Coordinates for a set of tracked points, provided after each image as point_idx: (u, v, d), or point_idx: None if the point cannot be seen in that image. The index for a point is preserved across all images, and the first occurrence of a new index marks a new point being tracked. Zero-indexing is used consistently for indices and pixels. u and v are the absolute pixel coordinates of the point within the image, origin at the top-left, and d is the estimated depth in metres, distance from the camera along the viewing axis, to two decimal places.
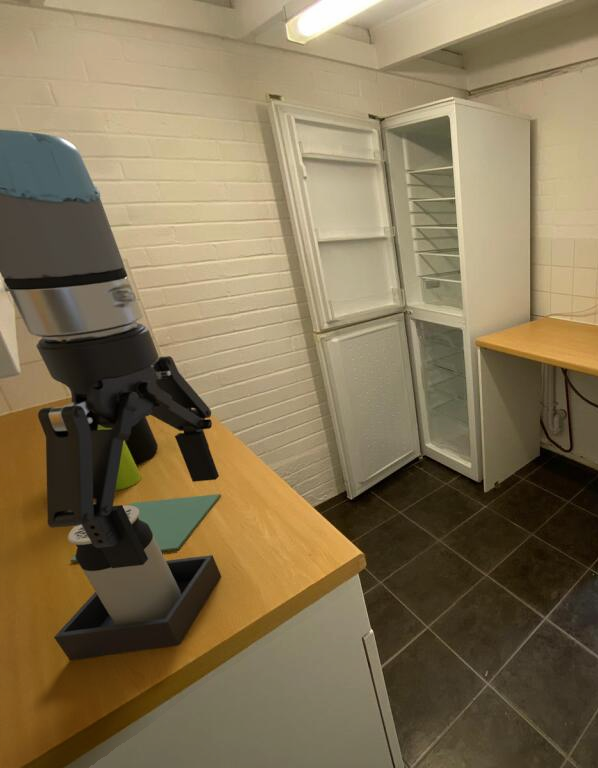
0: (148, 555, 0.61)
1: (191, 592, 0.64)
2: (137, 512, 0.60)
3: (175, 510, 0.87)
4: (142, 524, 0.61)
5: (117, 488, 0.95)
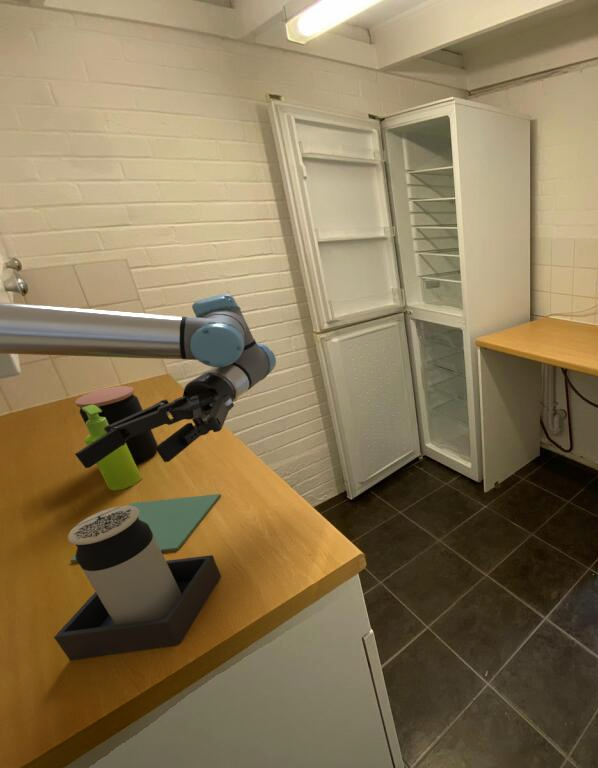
0: (148, 555, 0.61)
1: (191, 592, 0.64)
2: (137, 512, 0.60)
3: (175, 510, 0.87)
4: (142, 524, 0.61)
5: (117, 488, 0.95)
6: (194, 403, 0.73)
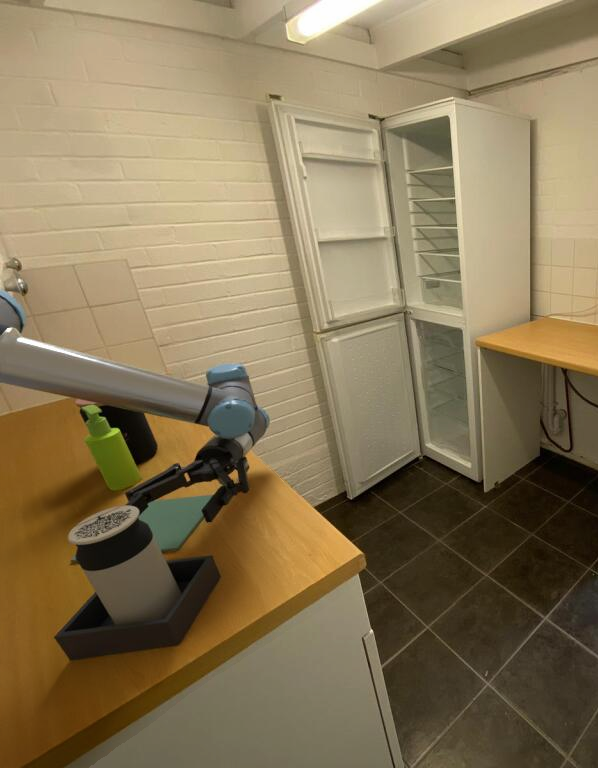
0: (148, 555, 0.61)
1: (191, 592, 0.64)
2: (137, 512, 0.60)
3: (175, 510, 0.87)
4: (142, 524, 0.61)
5: (117, 488, 0.95)
6: (216, 466, 0.80)
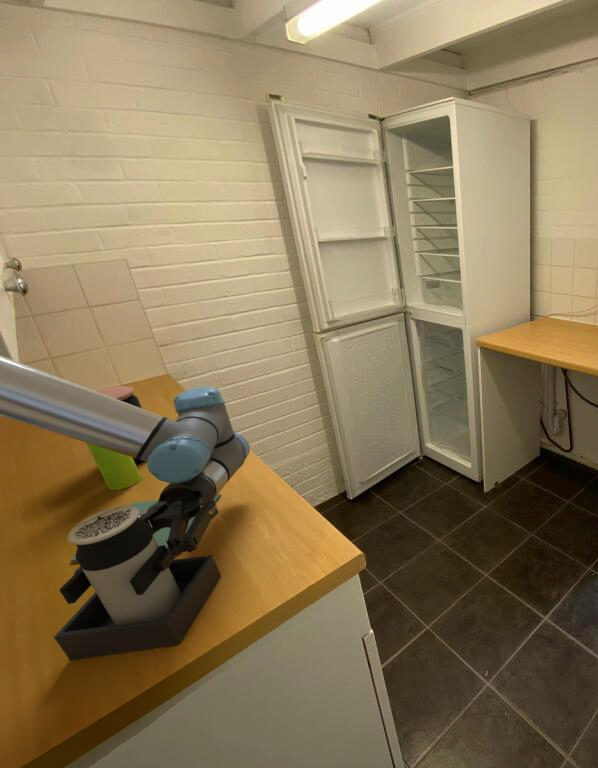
0: (148, 555, 0.61)
1: (191, 592, 0.64)
2: (137, 512, 0.60)
3: None
4: (142, 524, 0.61)
5: (117, 488, 0.95)
6: (181, 510, 0.70)
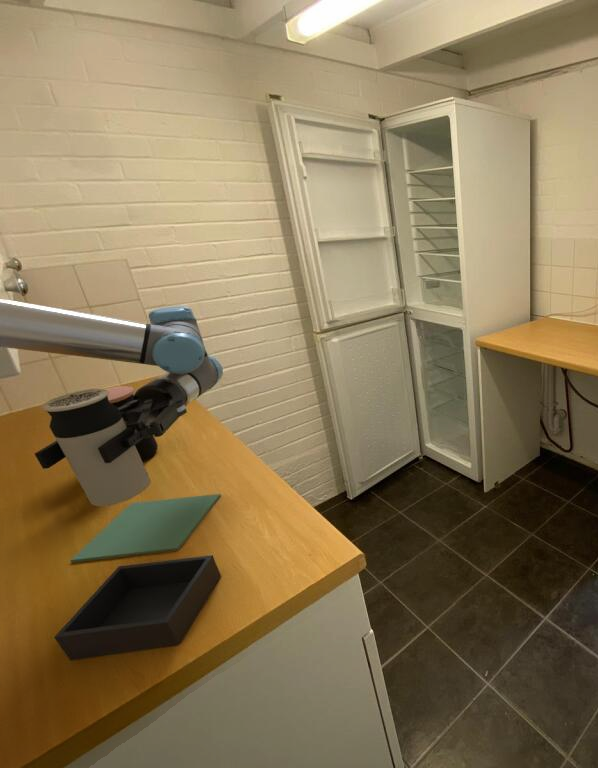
0: (116, 432, 0.67)
1: (191, 592, 0.64)
2: (106, 392, 0.66)
3: (175, 510, 0.87)
4: (111, 405, 0.67)
5: None
6: (151, 405, 0.76)
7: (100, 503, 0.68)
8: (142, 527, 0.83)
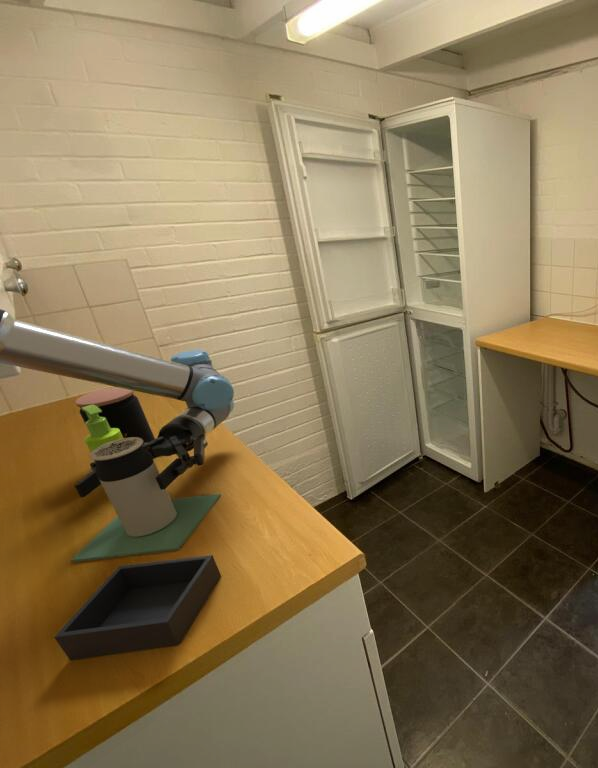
0: (150, 474, 0.79)
1: (191, 592, 0.64)
2: (141, 441, 0.79)
3: None
4: (145, 451, 0.80)
5: None
6: (175, 442, 0.88)
7: (136, 534, 0.80)
8: None
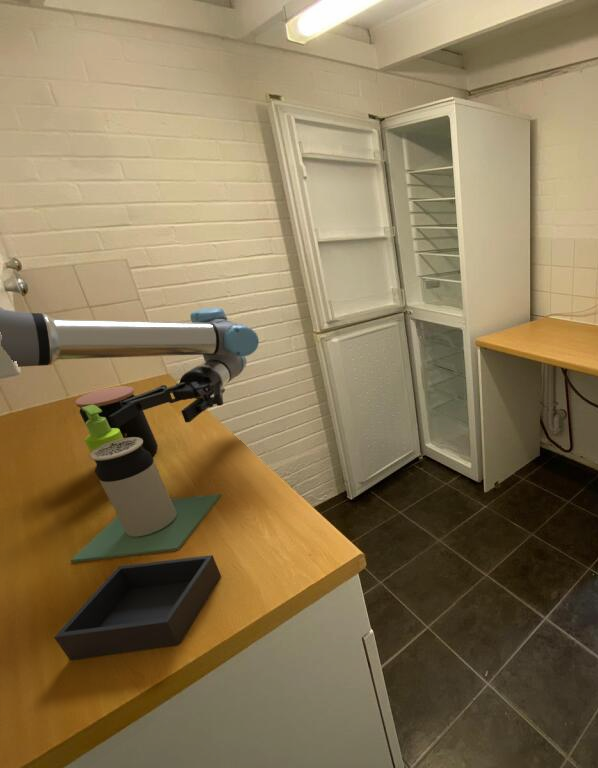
0: (150, 474, 0.79)
1: (191, 592, 0.64)
2: (141, 441, 0.79)
3: None
4: (145, 451, 0.80)
5: None
6: (196, 386, 0.96)
7: (136, 534, 0.80)
8: None
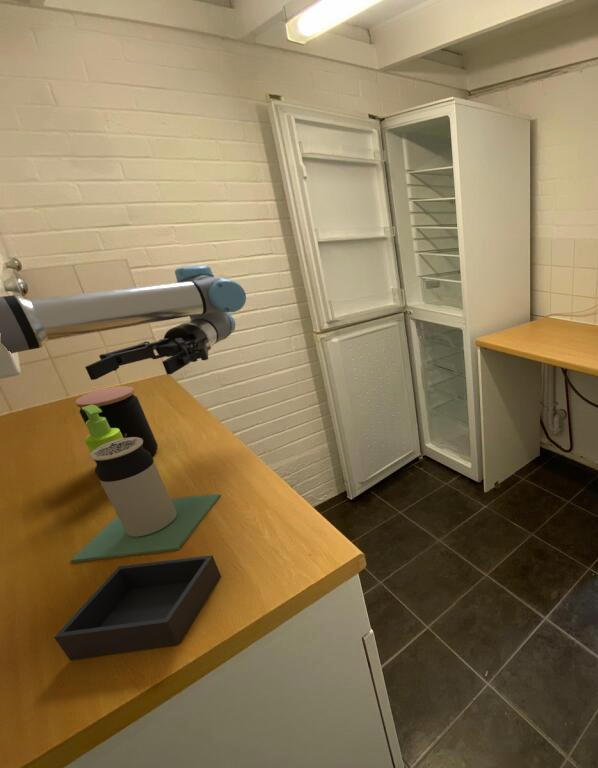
0: (150, 474, 0.79)
1: (191, 592, 0.64)
2: (141, 441, 0.79)
3: None
4: (145, 451, 0.80)
5: None
6: (180, 341, 0.92)
7: (136, 534, 0.80)
8: None
